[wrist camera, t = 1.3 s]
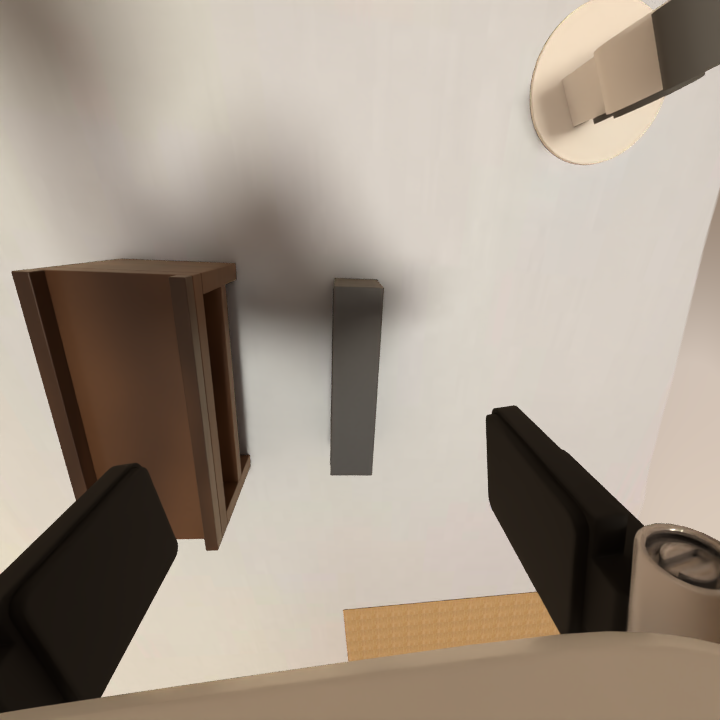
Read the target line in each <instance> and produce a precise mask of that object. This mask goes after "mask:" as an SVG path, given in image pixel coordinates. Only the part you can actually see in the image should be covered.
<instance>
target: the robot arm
mask: <svg viewBox="0 0 720 720" xmlns="http://www.w3.org/2000/svg"><path fill="white" fill-rule="evenodd" d="M486 439H487V469H488V496H489V502H490V505H491V508H492V510H493V512H494V514H495V516H496V517H497V519H498V521H499V523H500V525H501V527H502V528H503V530H504V532H505V534H506V536H507V538H508V539H509V541H510V543H511V545H512V547H513V549H514V550H515V552H516V554H517V556H518V558H519V560H520V561H521V563H522V565H523V567H524V569H525V571H526V572H527V574H528V576H529V578H530V580H531V582H532V583H533V585H534V587H535V589H536V591H537V593H538V594H539V596H540V598H541V600H542V602H543V604H544V605H545V607H546V609H547V611H548V613H549V615H550V616H551V618H552V620H553V622H554V624H555V626H556V627H557V629H558V631H559V633H560V634H558V635H549V636H541V637H533V638H524V639H516V640H507V641H499V642H490V643H482V644H473V645H465V646H458V647H451V648H443V649H436V650H429V651H422V652H415V653H407V654H400V655H393V656H386V657H378V658H371V659H364V660H357V661H349V662H342V663H335V664H328V665H321V666H314V667H307V668H300V669H293V670H286V671H279V672H272V673H265V674H258V675H251V676H244V677H237V678H230V679H223V680H217V681H210V682H203V683H196V684H189V685H182V686H175V687H168V688H162V689H155V690H148V691H142V692H135V693H128V694H122V695H115V696H109V697H102V698H101V696H102V694H103V692H104V690H105V689H106V687H107V685H108V683H109V681H110V679H111V677H112V675H113V674H114V672H115V670H116V668H117V666H118V664H119V662H120V660H121V659H122V657H123V655H124V653H125V651H126V649H127V647H128V645H129V644H130V642H131V640H132V638H133V636H134V634H135V632H136V631H137V629H138V627H139V625H140V623H141V621H142V619H143V617H144V616H145V614H146V612H147V610H148V608H149V606H150V604H151V602H152V601H153V599H154V597H155V595H156V593H157V591H158V589H159V587H160V586H161V584H162V582H163V580H164V578H165V576H166V574H167V572H168V571H169V569H170V567H171V565H172V563H173V561H174V559H175V557H176V555H177V551H178V543H177V540H176V538H175V535H174V533H173V530H172V528H171V525H170V523H169V521H168V518H167V516H166V513H165V511H164V508H163V506H162V504H161V501H160V499H159V496H158V494H157V491H156V489H155V487H154V484H153V482H152V479H151V477H150V474H149V472H148V470H147V469H146V468H145V467H142V466H141V465H140V464H138V463H130V464H123V465H117V466H112V467H111V468H110V469H108V470H107V471H106V472H105V473H104V474H103V475H102V476H101V477H100V478H99V479H98V480H97V481H96V482H95V483H94V484H93V485H92V486H91V487H90V488H89V489H88V490H87V491H86V492H85V493H84V494H83V495H82V496H81V497H80V498H79V499H78V500H77V501H76V502H75V503H73V504H72V505H71V506H70V507H69V508H68V509H67V510H66V511H65V512H64V513H63V514H62V515H61V516H60V517H59V518H58V519H57V520H56V521H55V522H54V523H53V524H52V525H51V526H50V527H49V528H48V529H47V530H46V531H45V532H44V533H43V534H42V535H41V536H39V537H38V538H37V539H36V540H35V541H34V542H33V543H32V544H31V545H30V546H29V547H28V548H27V549H26V550H25V551H24V552H23V553H22V554H21V555H20V556H19V557H18V558H17V559H16V560H15V561H14V562H13V563H12V564H11V565H10V566H9V567H8V568H7V569H6V570H4V571H3V572H2V573H1V574H0V720H720V542H719V541H718V540H716V539H713V538H712V537H710V536H708V535H706V534H704V533H702V532H699V531H696V530H693V529H691V528H688V527H684V526H679V525H674V524H661V523H658V524H657V523H655V524H651V525H647V526H644V525H643V524H642V523H641V522H640V521H639V520H638V519H637V518H635V517H634V516H633V515H632V514H631V513H630V512H629V511H628V510H627V509H626V508H625V507H624V506H623V505H622V504H621V503H620V502H619V501H618V500H617V499H616V498H615V497H614V496H612V495H611V494H610V493H609V492H608V491H607V490H606V489H605V488H604V487H603V486H602V485H601V484H600V483H599V482H598V481H597V480H596V479H595V478H594V477H593V476H592V475H590V474H589V473H588V472H587V471H586V470H585V469H584V468H583V467H582V466H581V465H580V464H579V463H578V462H577V461H576V460H575V459H574V458H573V457H572V456H571V455H570V454H569V453H567V452H566V451H564V450H561V449H560V448H559V447H558V446H557V445H556V444H555V443H554V442H553V441H552V440H551V439H550V438H549V437H548V436H547V435H546V434H545V433H544V432H543V431H542V430H541V429H540V428H539V427H538V426H537V425H536V424H535V423H534V422H533V421H531V420H530V419H529V418H528V417H527V416H526V415H525V414H524V413H523V412H522V411H521V410H520V409H519V408H518V407H517V406H507V407H501V408H494V409H493V410H492V414H490V415H487V416H486Z"/></svg>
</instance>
